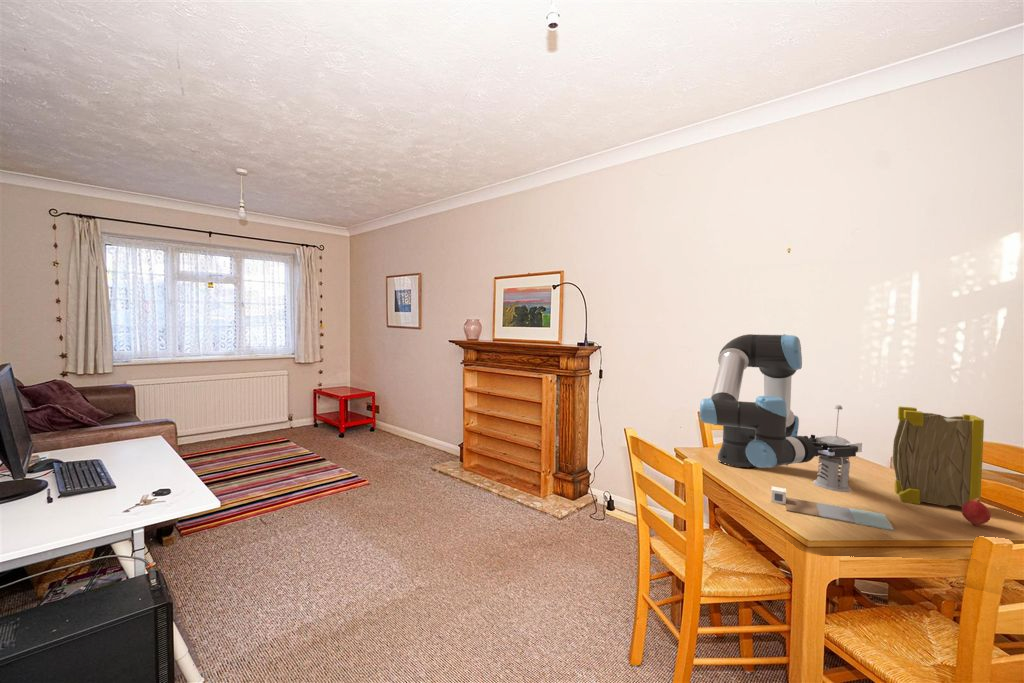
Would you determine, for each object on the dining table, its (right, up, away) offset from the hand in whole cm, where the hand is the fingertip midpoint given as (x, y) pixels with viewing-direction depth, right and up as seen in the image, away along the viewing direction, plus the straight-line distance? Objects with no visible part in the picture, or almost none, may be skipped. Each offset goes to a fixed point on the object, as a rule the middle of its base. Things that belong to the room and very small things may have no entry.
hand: (845, 443), depth 138 cm
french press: (-5, -13, -1) cm, 14 cm away
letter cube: (-16, -21, +8) cm, 27 cm away
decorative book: (+35, -21, +9) cm, 42 cm away
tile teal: (+3, -21, -5) cm, 22 cm away
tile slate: (-4, -21, -1) cm, 21 cm away
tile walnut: (-11, -21, +3) cm, 24 cm away
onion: (+31, -22, -9) cm, 39 cm away
